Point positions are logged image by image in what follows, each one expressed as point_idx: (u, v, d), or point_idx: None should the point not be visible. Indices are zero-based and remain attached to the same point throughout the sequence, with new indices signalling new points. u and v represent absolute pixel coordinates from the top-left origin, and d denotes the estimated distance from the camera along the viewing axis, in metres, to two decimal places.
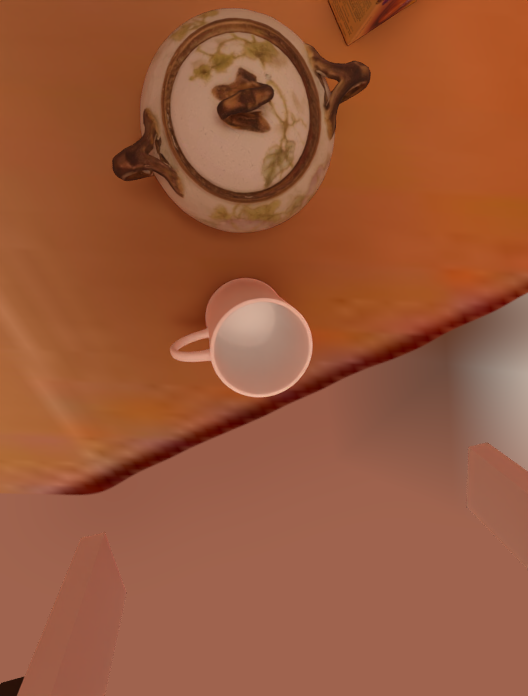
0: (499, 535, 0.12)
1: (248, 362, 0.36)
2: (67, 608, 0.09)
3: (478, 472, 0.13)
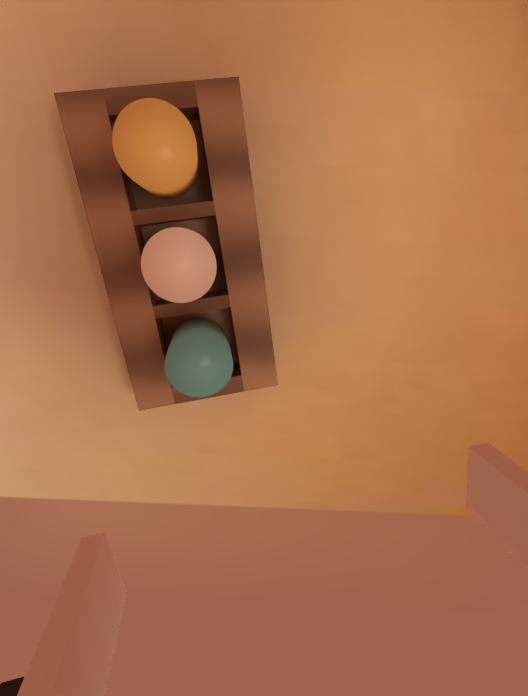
0: (499, 535, 0.12)
1: None
2: (67, 608, 0.09)
3: (478, 472, 0.13)
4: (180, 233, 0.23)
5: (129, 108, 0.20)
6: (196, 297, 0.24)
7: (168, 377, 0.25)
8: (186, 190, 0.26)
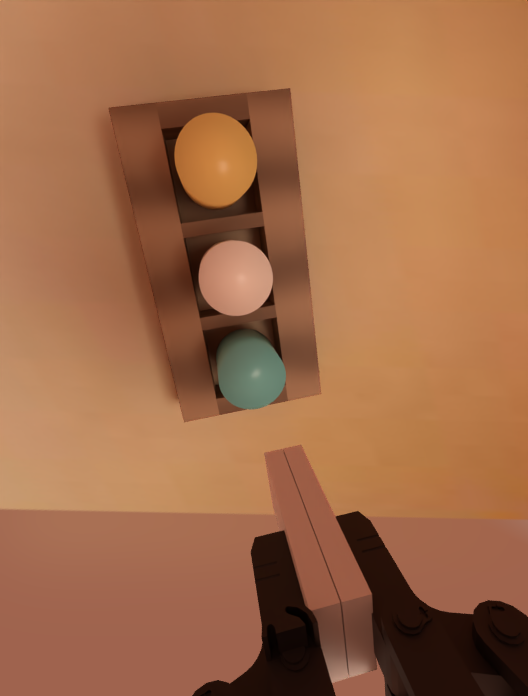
0: None
1: None
2: (287, 490, 0.12)
3: None
4: (238, 246, 0.23)
5: (192, 123, 0.20)
6: (252, 310, 0.24)
7: (222, 390, 0.25)
8: (235, 202, 0.26)
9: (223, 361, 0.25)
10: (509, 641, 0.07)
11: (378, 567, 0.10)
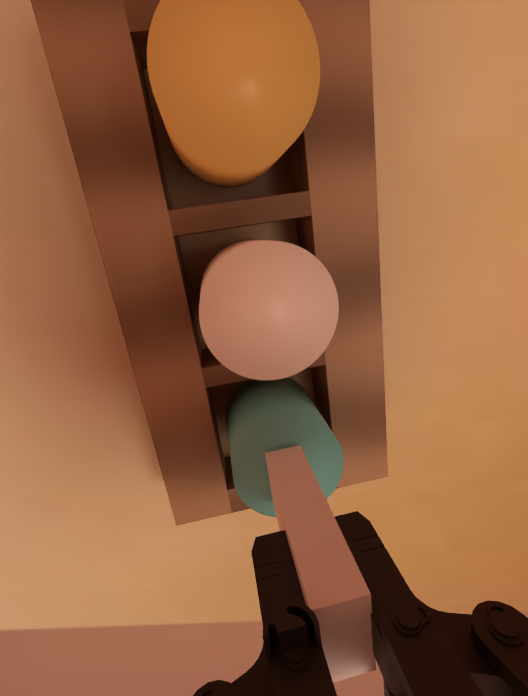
0: None
1: None
2: (288, 490, 0.12)
3: None
4: (276, 252, 0.12)
5: None
6: (298, 369, 0.13)
7: (238, 490, 0.15)
8: None
9: (241, 444, 0.15)
10: (507, 641, 0.07)
11: (377, 567, 0.10)
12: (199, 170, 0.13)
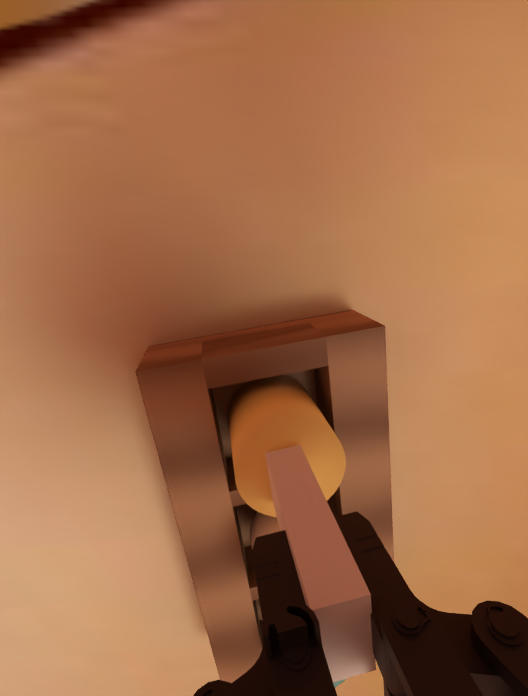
0: None
1: None
2: (288, 490, 0.12)
3: None
4: None
5: (261, 435, 0.14)
6: None
7: None
8: None
9: None
10: (507, 641, 0.07)
11: (377, 567, 0.10)
12: None
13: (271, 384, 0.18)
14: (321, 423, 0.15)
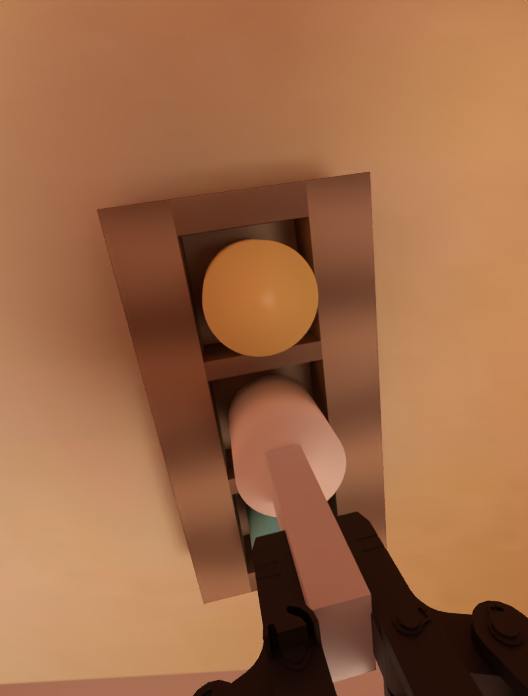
0: None
1: None
2: (288, 490, 0.12)
3: None
4: (297, 427, 0.15)
5: (229, 255, 0.14)
6: None
7: None
8: None
9: None
10: (508, 641, 0.07)
11: (378, 567, 0.10)
12: None
13: (245, 239, 0.18)
14: (292, 249, 0.14)
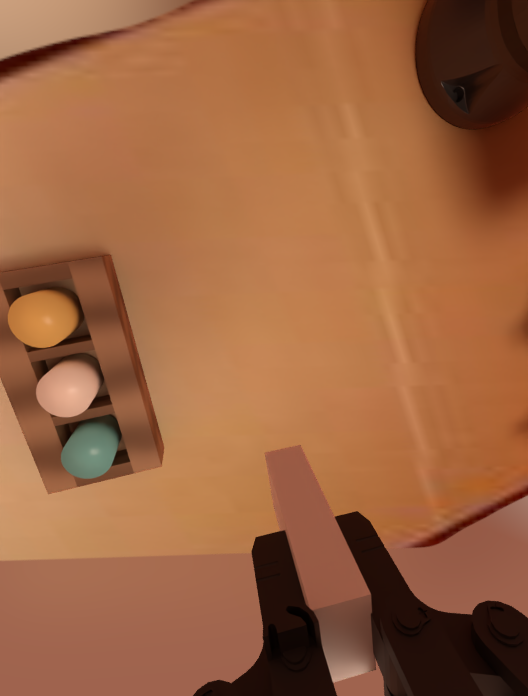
0: None
1: None
2: (288, 490, 0.12)
3: None
4: (63, 373, 0.33)
5: (18, 301, 0.31)
6: (79, 412, 0.34)
7: (65, 466, 0.35)
8: (76, 329, 0.36)
9: (64, 447, 0.35)
10: (507, 641, 0.07)
11: (378, 567, 0.10)
12: None
13: (47, 288, 0.34)
14: (51, 297, 0.31)
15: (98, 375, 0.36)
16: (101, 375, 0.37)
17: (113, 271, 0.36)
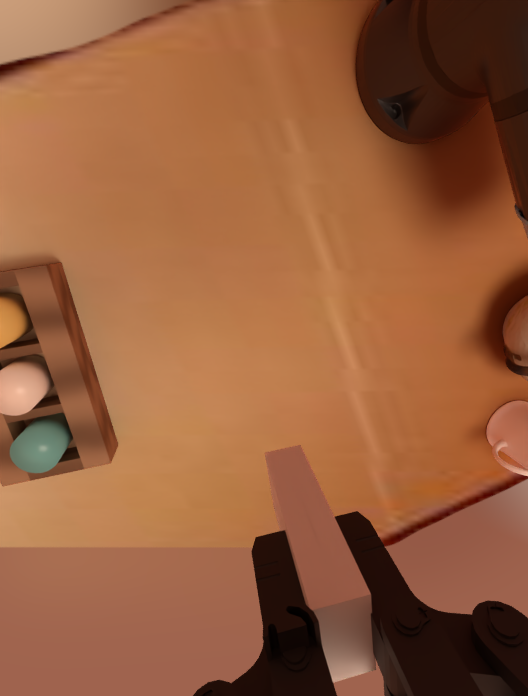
0: None
1: None
2: (288, 490, 0.12)
3: None
4: (8, 374, 0.35)
5: None
6: (26, 411, 0.36)
7: (14, 461, 0.38)
8: None
9: (12, 443, 0.37)
10: (507, 641, 0.07)
11: (378, 567, 0.10)
12: None
13: None
14: None
15: (47, 377, 0.39)
16: None
17: (62, 278, 0.38)
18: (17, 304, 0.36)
